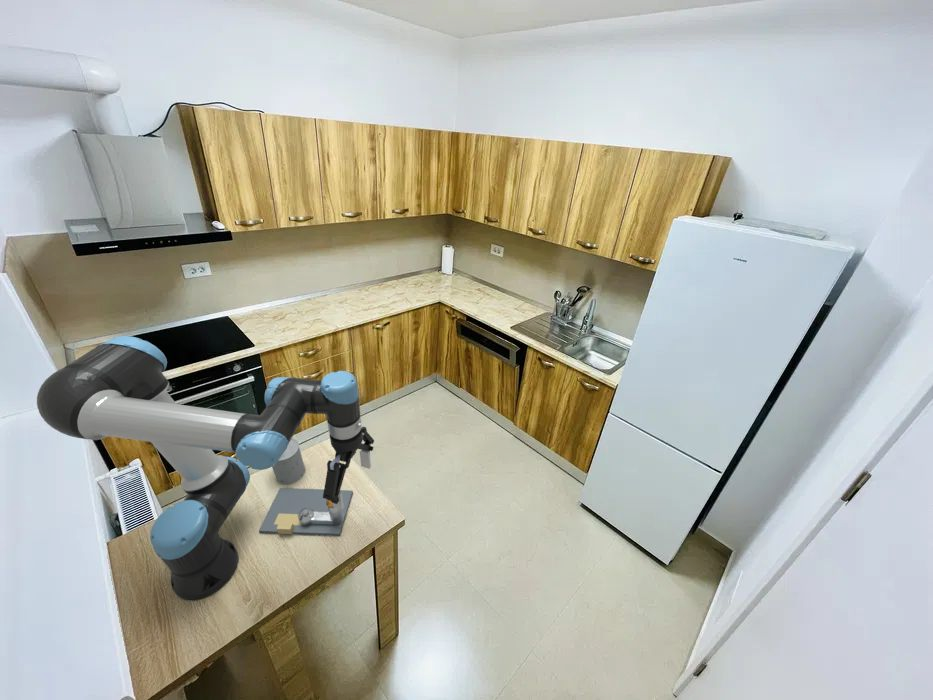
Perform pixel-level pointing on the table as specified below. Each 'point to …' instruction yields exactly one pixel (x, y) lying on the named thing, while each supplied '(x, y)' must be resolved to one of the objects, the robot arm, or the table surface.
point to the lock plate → (299, 503)
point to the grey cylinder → (289, 465)
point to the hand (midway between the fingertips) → (353, 485)
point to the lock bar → (321, 516)
